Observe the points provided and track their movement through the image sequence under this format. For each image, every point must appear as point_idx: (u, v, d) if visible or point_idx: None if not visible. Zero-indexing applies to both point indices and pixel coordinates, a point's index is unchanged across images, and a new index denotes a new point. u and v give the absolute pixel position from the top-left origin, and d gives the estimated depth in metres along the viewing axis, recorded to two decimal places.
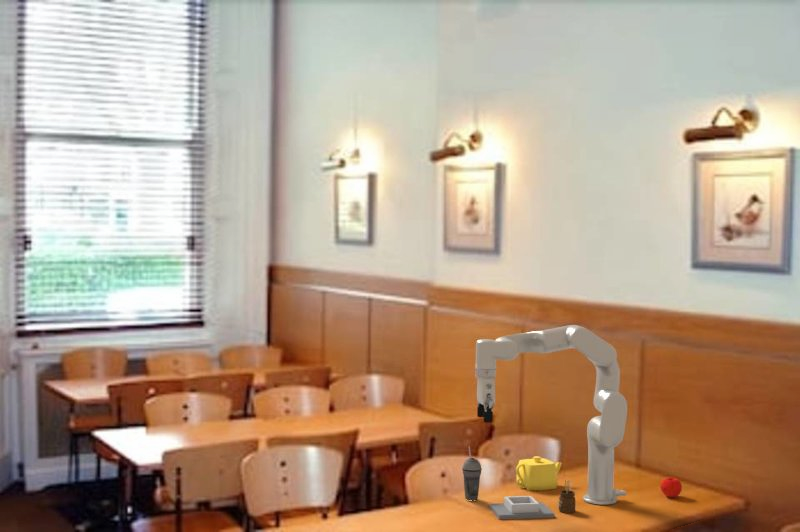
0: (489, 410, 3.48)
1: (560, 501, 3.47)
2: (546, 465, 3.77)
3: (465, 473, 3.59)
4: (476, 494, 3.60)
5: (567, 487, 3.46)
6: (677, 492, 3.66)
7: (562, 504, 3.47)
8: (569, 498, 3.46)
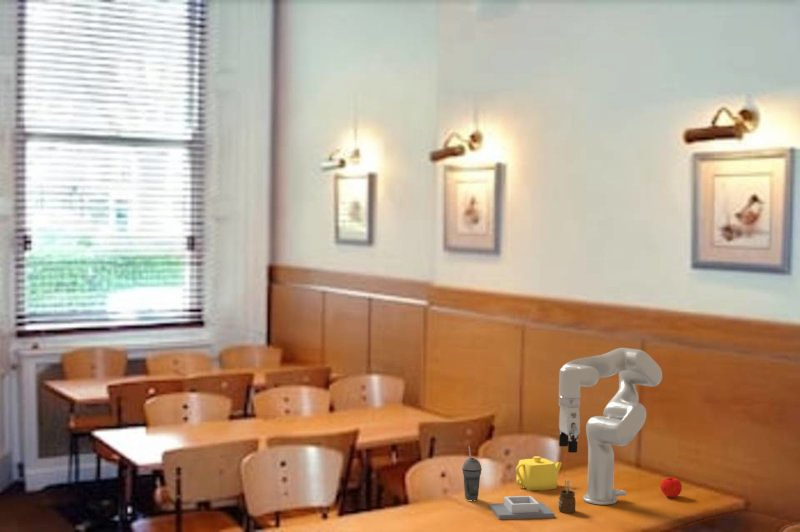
0: (574, 440, 3.41)
1: (560, 501, 3.47)
2: (546, 465, 3.77)
3: (465, 473, 3.59)
4: (476, 494, 3.60)
5: (567, 487, 3.46)
6: (677, 492, 3.66)
7: (562, 504, 3.47)
8: (569, 498, 3.46)
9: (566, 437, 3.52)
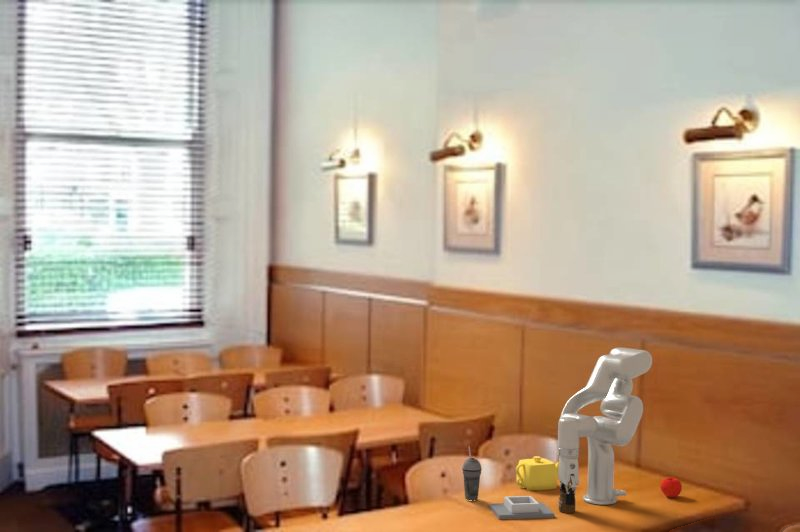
0: (571, 492, 3.44)
1: (560, 501, 3.47)
2: (546, 465, 3.77)
3: (465, 473, 3.59)
4: (476, 494, 3.60)
5: None
6: (677, 492, 3.66)
7: (562, 504, 3.47)
8: None
9: None
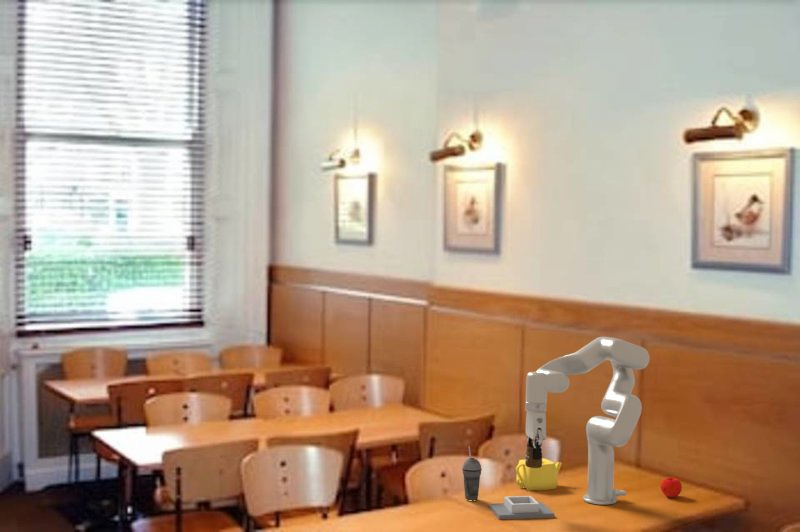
0: (538, 447, 3.41)
1: (527, 456, 3.44)
2: (546, 465, 3.77)
3: (465, 473, 3.59)
4: (476, 494, 3.60)
5: None
6: (677, 492, 3.66)
7: (529, 459, 3.44)
8: None
9: None
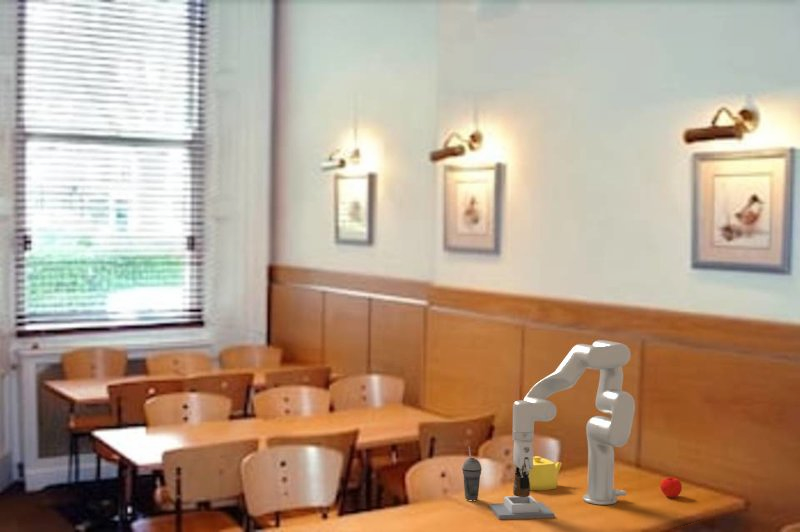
0: (525, 476, 3.41)
1: (514, 485, 3.45)
2: (546, 465, 3.77)
3: (465, 473, 3.59)
4: (476, 494, 3.60)
5: None
6: (677, 492, 3.66)
7: (516, 488, 3.44)
8: None
9: None
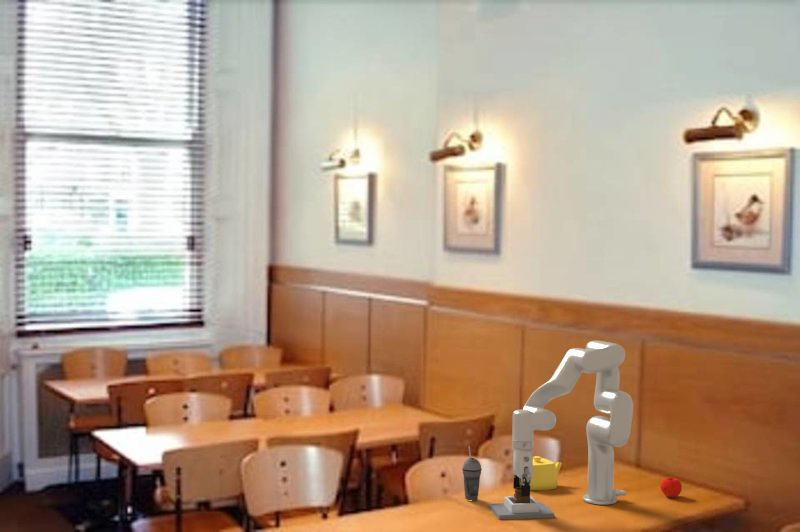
0: (527, 484, 3.39)
1: (515, 498, 3.45)
2: (546, 465, 3.77)
3: (465, 473, 3.59)
4: (476, 494, 3.60)
5: None
6: (677, 492, 3.66)
7: (517, 501, 3.44)
8: None
9: (520, 480, 3.50)
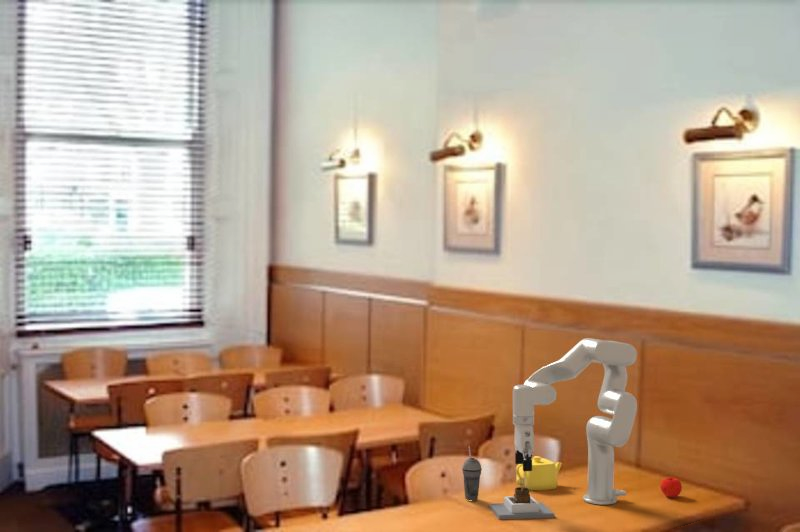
0: (528, 459, 3.39)
1: (515, 498, 3.45)
2: (546, 465, 3.77)
3: (465, 473, 3.59)
4: (476, 494, 3.60)
5: (522, 484, 3.43)
6: (677, 492, 3.66)
7: (517, 501, 3.44)
8: (524, 495, 3.43)
9: (522, 455, 3.50)
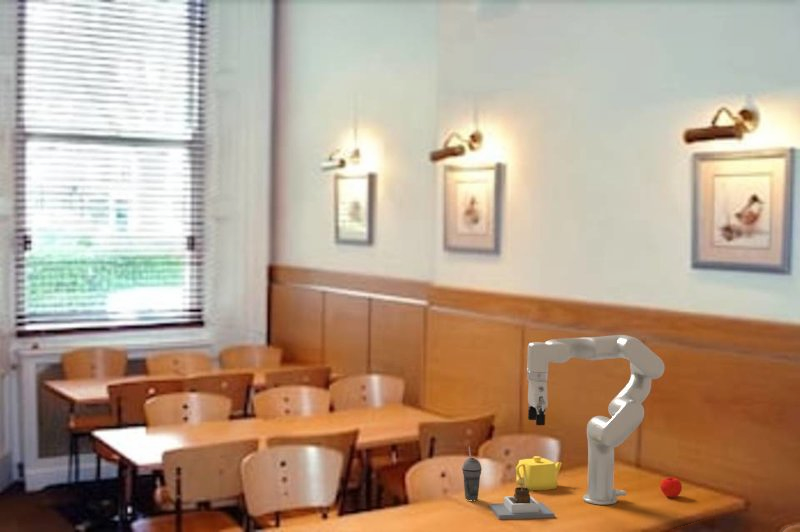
0: (542, 413, 3.49)
1: (515, 498, 3.45)
2: (546, 465, 3.77)
3: (465, 473, 3.59)
4: (476, 494, 3.60)
5: (522, 484, 3.43)
6: (677, 492, 3.66)
7: (517, 501, 3.44)
8: (524, 495, 3.43)
9: (535, 411, 3.60)
